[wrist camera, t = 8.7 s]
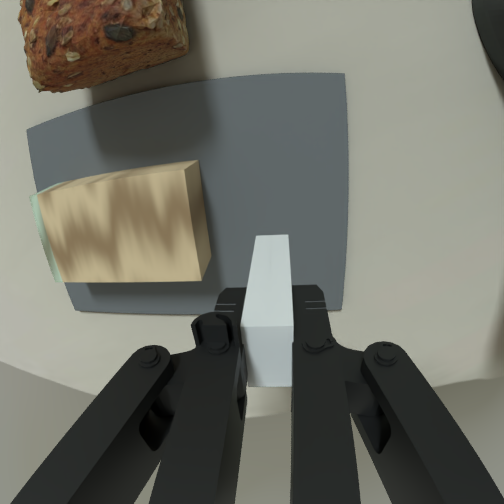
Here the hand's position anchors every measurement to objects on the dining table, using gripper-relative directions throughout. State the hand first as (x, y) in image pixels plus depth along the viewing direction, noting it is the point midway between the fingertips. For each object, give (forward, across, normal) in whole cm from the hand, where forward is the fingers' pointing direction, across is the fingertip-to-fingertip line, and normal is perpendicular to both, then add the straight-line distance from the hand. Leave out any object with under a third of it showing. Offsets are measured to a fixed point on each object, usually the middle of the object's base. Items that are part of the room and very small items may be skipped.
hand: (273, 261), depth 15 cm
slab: (+7, -5, 0) cm, 9 cm away
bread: (+10, -11, +21) cm, 25 cm away
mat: (+10, -8, 0) cm, 13 cm away
